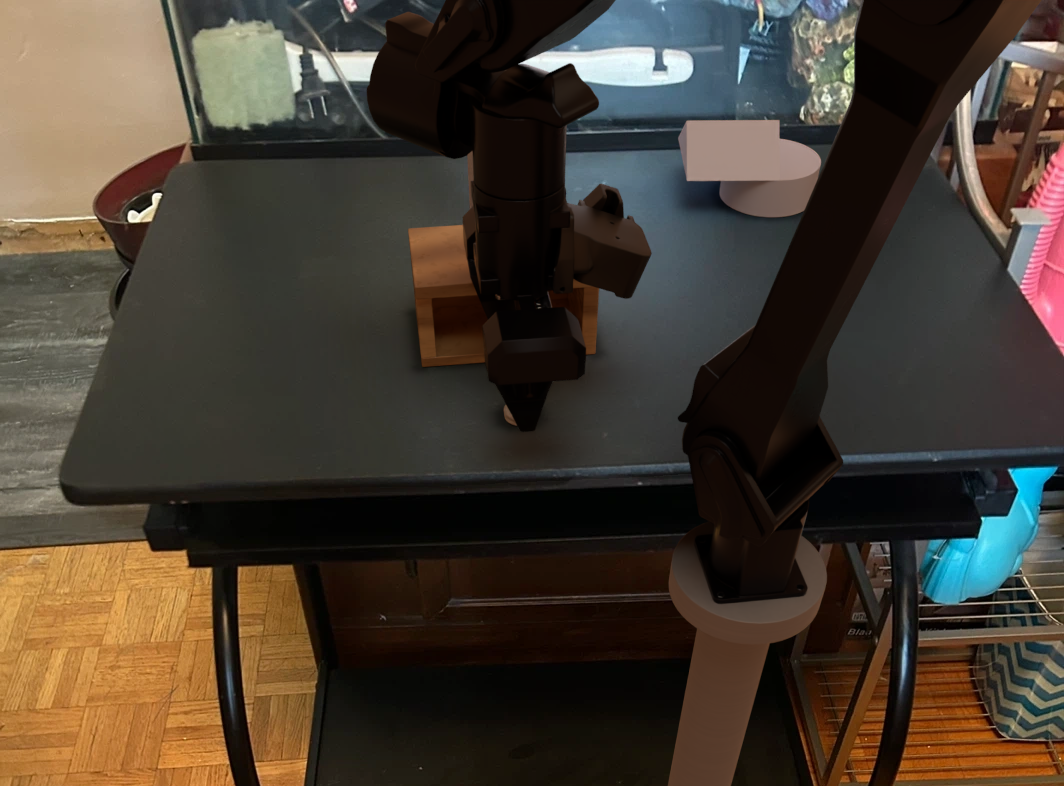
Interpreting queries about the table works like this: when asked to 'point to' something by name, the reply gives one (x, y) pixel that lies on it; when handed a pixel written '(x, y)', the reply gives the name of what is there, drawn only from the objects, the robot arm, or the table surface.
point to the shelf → (468, 300)
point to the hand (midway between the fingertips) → (520, 395)
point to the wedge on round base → (750, 165)
